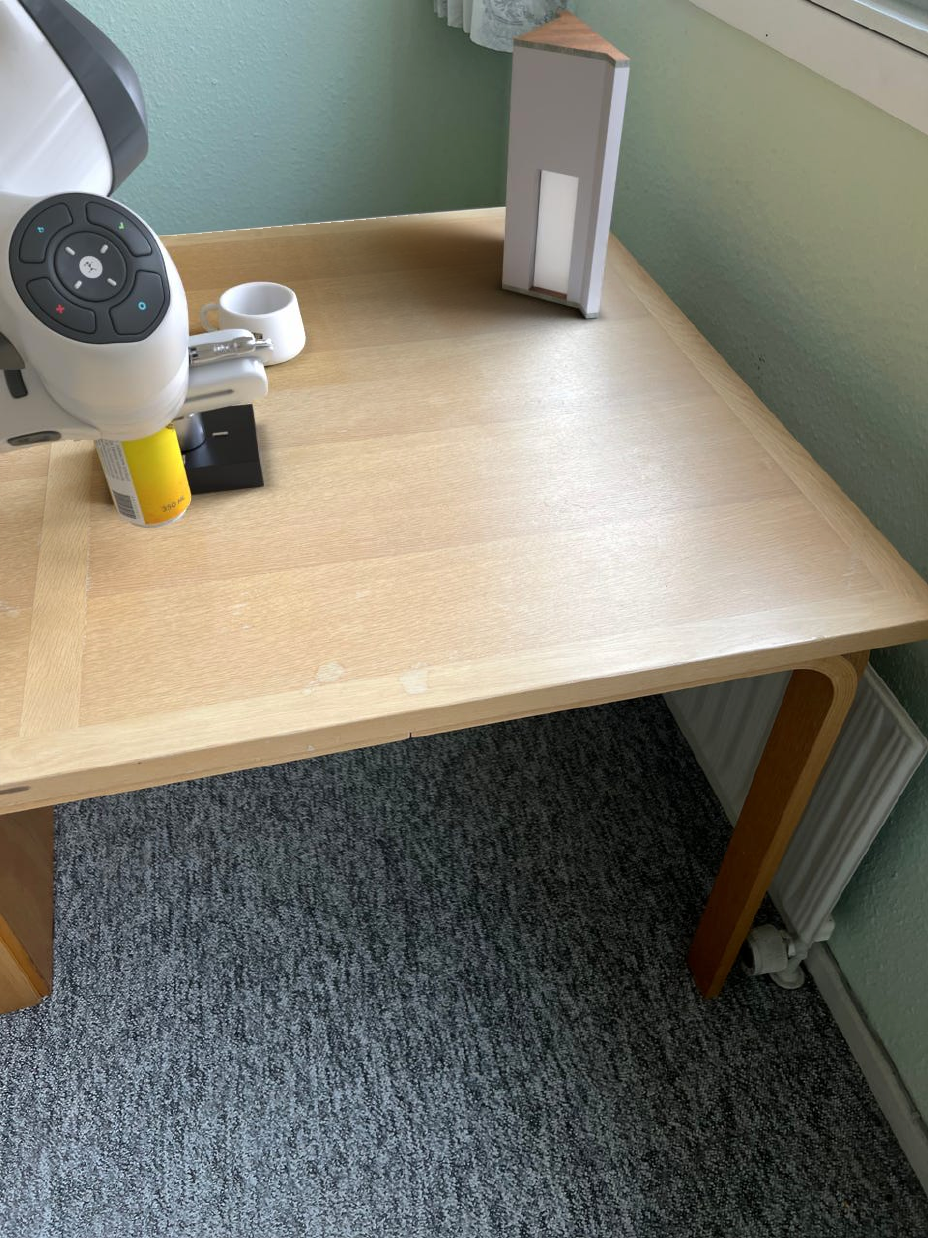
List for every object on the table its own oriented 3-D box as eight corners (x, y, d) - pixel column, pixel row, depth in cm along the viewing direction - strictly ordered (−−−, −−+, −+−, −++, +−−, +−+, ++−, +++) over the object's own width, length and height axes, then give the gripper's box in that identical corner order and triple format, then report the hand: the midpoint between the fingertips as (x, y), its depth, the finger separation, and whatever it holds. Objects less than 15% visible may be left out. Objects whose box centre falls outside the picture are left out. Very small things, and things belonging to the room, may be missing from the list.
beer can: (206, 495, 78) (168, 332, 68) (168, 539, 74) (121, 373, 64) (144, 481, 80) (97, 318, 69) (103, 523, 76) (46, 357, 65)
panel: (113, 504, 86) (104, 477, 84) (116, 444, 93) (108, 417, 91) (264, 485, 89) (259, 458, 86) (256, 428, 96) (252, 401, 93)
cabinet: (598, 317, 114) (630, 59, 94) (523, 324, 112) (540, 64, 92) (548, 246, 128) (567, 10, 108) (481, 252, 126) (488, 13, 106)
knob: (208, 447, 88) (200, 413, 85) (160, 455, 87) (151, 420, 84) (203, 422, 91) (195, 388, 88) (157, 429, 90) (148, 395, 87)
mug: (315, 330, 110) (310, 282, 106) (294, 372, 103) (288, 322, 99) (217, 322, 111) (208, 274, 107) (191, 363, 104) (180, 313, 100)
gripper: (263, 289, 61) (250, 354, 74) (-72, 347, 55) (-22, 406, 68) (290, 382, 61) (272, 430, 74) (-41, 449, 55) (3, 488, 69)
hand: (129, 419), depth 71 cm, fingers closed on beer can, 6 cm apart
